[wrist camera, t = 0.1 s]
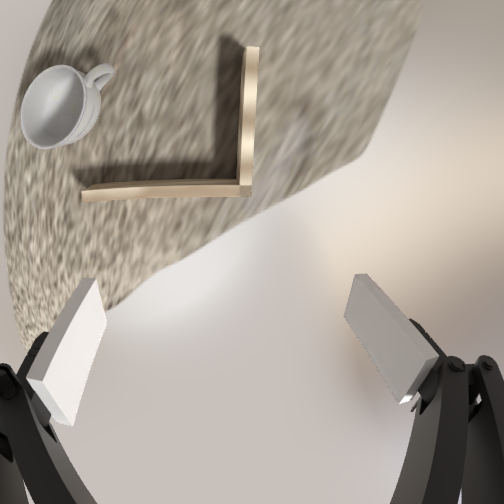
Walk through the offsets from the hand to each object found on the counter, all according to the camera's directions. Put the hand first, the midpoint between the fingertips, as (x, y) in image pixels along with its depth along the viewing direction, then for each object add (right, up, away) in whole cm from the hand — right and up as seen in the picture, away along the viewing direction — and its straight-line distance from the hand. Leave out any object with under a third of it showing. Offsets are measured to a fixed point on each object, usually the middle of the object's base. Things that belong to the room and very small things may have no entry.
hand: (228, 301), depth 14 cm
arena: (-11, +20, +20) cm, 30 cm away
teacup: (-22, +23, +17) cm, 37 cm away
